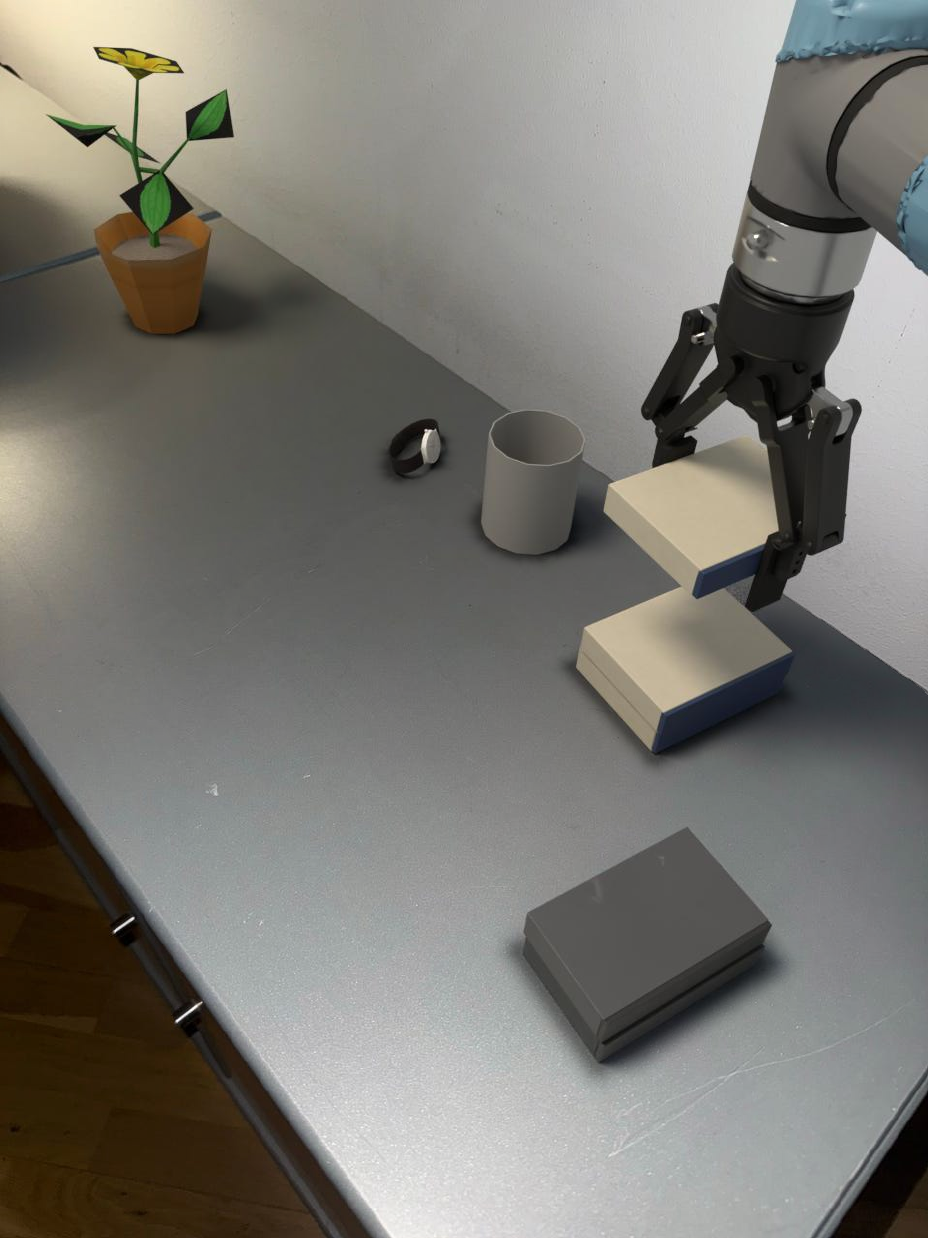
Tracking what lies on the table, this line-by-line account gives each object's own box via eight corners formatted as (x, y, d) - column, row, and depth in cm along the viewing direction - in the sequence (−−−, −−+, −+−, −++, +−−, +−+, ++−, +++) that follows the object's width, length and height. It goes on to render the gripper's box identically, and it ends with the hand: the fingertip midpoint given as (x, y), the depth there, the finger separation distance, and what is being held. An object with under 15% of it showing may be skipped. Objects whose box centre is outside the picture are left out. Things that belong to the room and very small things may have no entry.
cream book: (836, 540, 77) (847, 513, 75) (696, 601, 72) (704, 573, 70) (738, 460, 83) (746, 434, 81) (602, 511, 78) (608, 483, 76)
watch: (421, 484, 105) (422, 454, 103) (376, 471, 106) (377, 441, 104) (450, 442, 111) (452, 412, 108) (408, 430, 112) (408, 400, 109)
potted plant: (250, 356, 120) (223, 65, 99) (73, 360, 117) (6, 62, 96) (250, 277, 132) (226, 4, 111) (90, 280, 130) (34, 0, 108)
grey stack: (756, 964, 72) (776, 926, 68) (596, 1064, 66) (609, 1028, 63) (674, 866, 76) (688, 825, 73) (519, 952, 71) (526, 912, 68)
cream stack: (780, 695, 89) (797, 652, 85) (654, 757, 83) (666, 715, 80) (696, 614, 95) (709, 572, 91) (574, 668, 89) (582, 625, 86)
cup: (463, 516, 102) (470, 427, 95) (530, 486, 106) (541, 399, 99) (520, 566, 98) (532, 477, 91) (588, 533, 102) (604, 445, 95)
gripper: (623, 206, 69) (577, 484, 85) (895, 388, 56) (781, 677, 71) (713, 186, 72) (652, 457, 88) (991, 353, 59) (862, 638, 74)
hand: (710, 556), depth 80 cm, fingers closed on cream book, 10 cm apart
